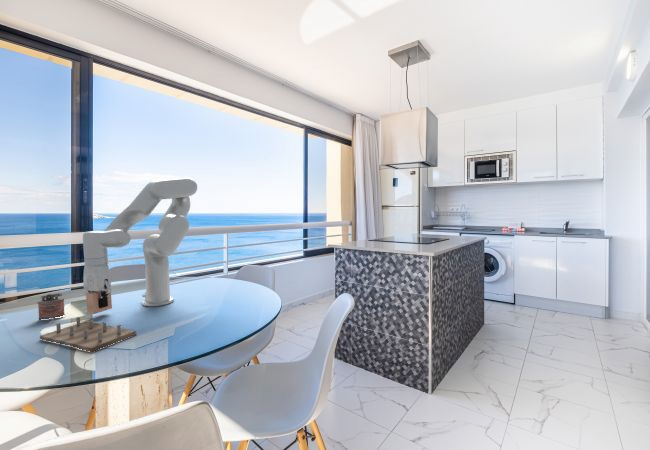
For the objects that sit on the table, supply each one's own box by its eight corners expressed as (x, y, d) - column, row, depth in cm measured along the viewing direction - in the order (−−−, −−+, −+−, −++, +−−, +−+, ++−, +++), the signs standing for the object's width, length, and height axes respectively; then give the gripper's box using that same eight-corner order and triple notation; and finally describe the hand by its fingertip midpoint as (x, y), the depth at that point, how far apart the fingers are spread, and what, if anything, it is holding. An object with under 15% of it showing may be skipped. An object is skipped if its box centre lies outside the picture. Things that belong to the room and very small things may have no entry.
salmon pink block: (87, 313, 121) (85, 293, 120) (105, 307, 127) (104, 288, 127) (94, 314, 120) (92, 294, 119) (112, 308, 126) (110, 289, 126)
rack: (40, 340, 100) (39, 326, 100) (86, 325, 114) (85, 313, 113) (91, 353, 91) (91, 338, 91) (135, 335, 104) (135, 322, 104)
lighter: (37, 321, 118) (35, 296, 117) (40, 318, 121) (38, 293, 120) (63, 318, 121) (62, 293, 121) (66, 315, 124) (65, 291, 124)
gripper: (72, 262, 122) (76, 307, 123) (100, 264, 116) (103, 312, 117) (92, 259, 129) (95, 301, 130) (120, 261, 123) (123, 305, 124)
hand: (99, 306), depth 123 cm, fingers closed on salmon pink block, 4 cm apart
